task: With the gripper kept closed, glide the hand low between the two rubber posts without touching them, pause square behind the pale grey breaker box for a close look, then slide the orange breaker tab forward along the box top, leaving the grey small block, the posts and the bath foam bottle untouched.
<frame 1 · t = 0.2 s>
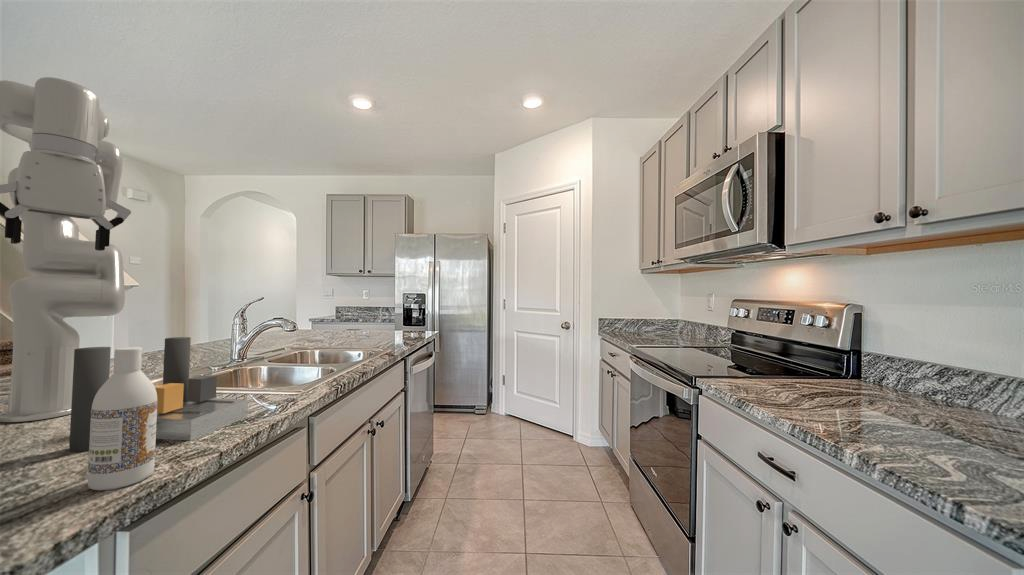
hand: (60, 246, 66), 36 cm above the countertop, tool pointing down, fingers open, 9 cm apart
grey small block: (202, 388, 83), point 7 cm above the countertop, slide at 0.0 cm
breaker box: (195, 426, 78), on the countertop
bath foam: (122, 481, 56), on the countertop
tab orange: (167, 397, 75), point 7 cm above the countertop, slide at 0.0 cm
post 2: (174, 416, 84), on the countertop
post 1: (87, 447, 67), on the countertop
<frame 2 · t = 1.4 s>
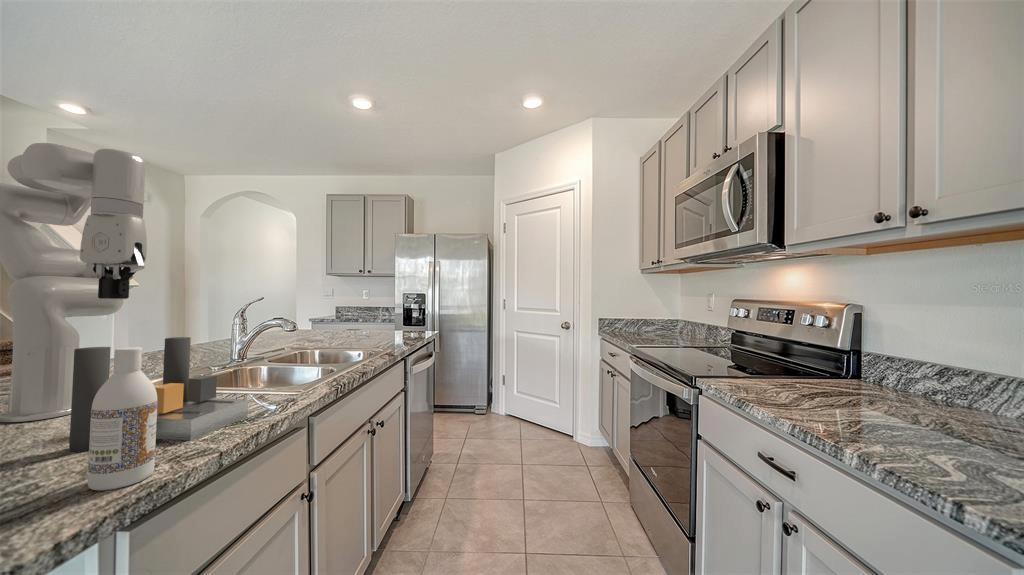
hand: (113, 297, 77), 27 cm above the countertop, tool pointing down, fingers closed
nothing on the countertop moved.
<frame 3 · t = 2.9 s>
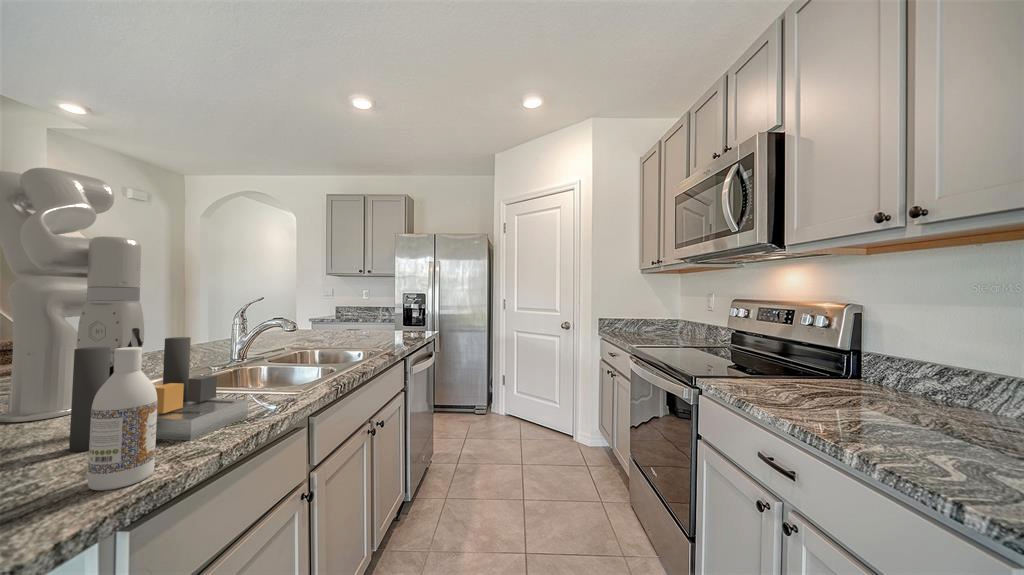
hand: (111, 385, 76), 9 cm above the countertop, tool pointing down, fingers closed
nothing on the countertop moved.
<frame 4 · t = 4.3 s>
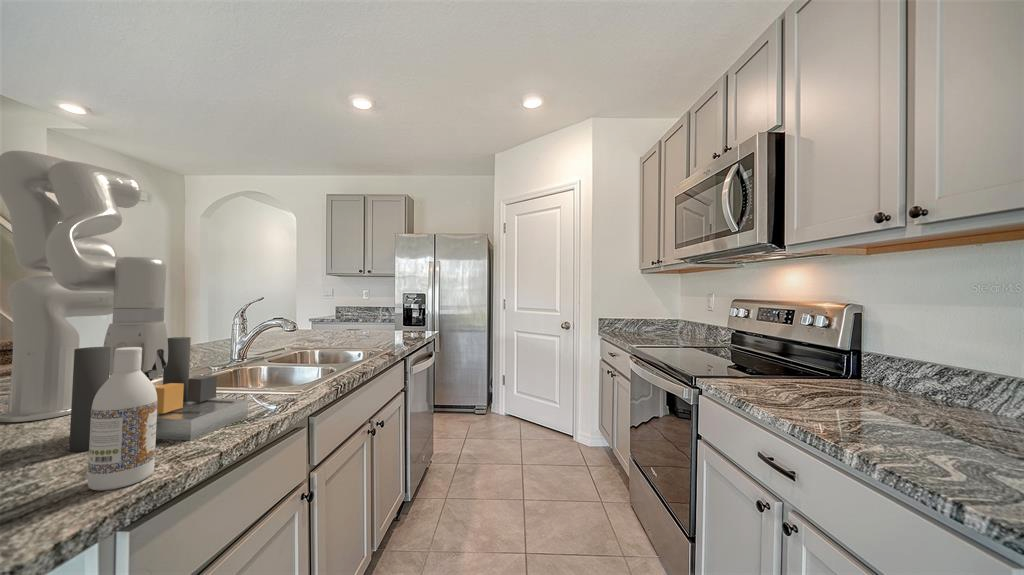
hand: (135, 405, 76), 5 cm above the countertop, tool pointing down, fingers closed
nothing on the countertop moved.
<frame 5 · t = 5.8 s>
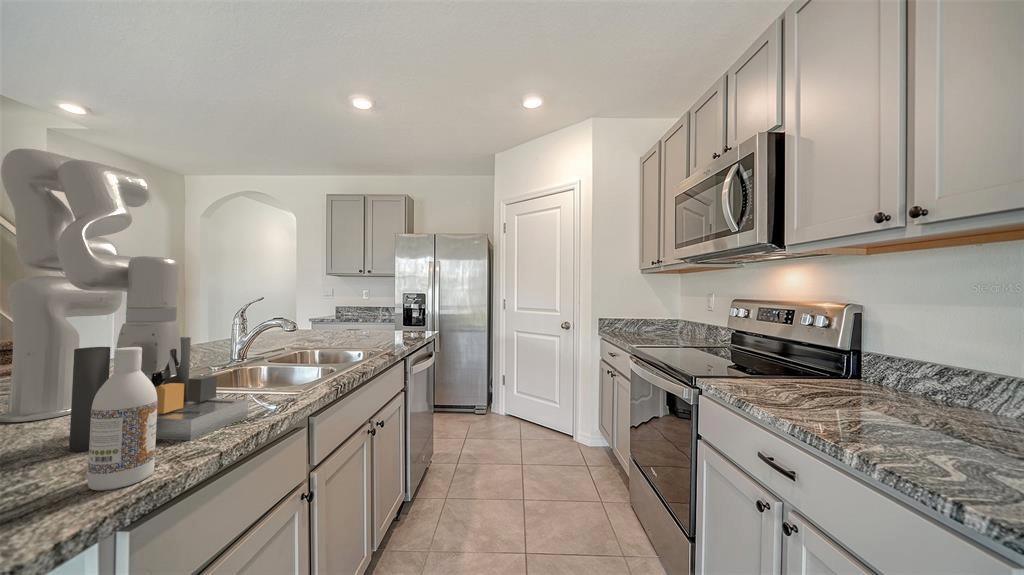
hand: (148, 405, 76), 5 cm above the countertop, tool pointing down, fingers closed
tab orange: (167, 397, 75), point 7 cm above the countertop, slide at 0.1 cm, touching gripper
everything else where it was.
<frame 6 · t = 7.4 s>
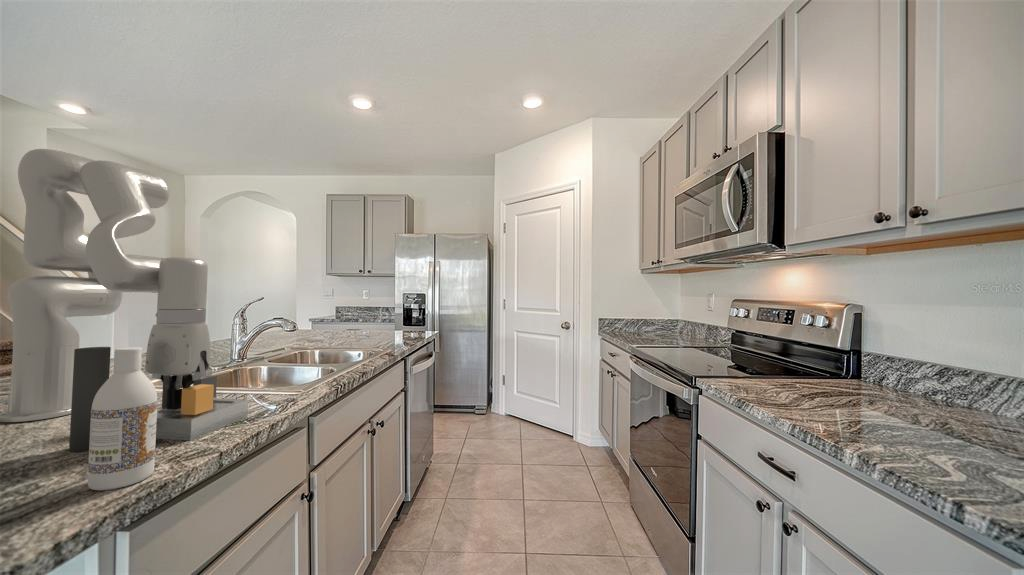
hand: (178, 407, 75), 5 cm above the countertop, tool pointing down, fingers closed
tab orange: (197, 399, 75), point 7 cm above the countertop, slide at 6.7 cm
everything else where it was.
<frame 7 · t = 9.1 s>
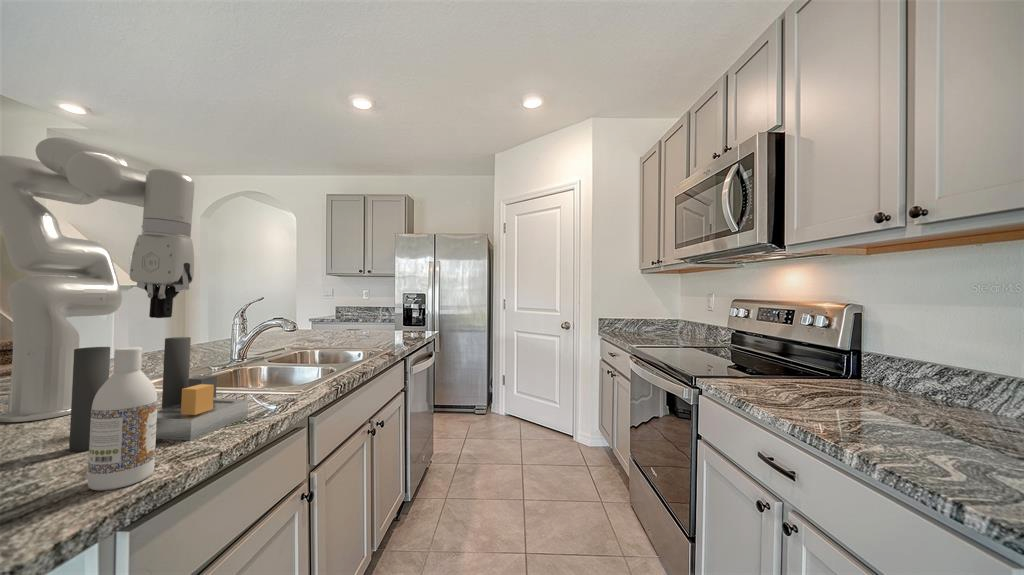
hand: (160, 317, 77), 23 cm above the countertop, tool pointing down, fingers closed
nothing on the countertop moved.
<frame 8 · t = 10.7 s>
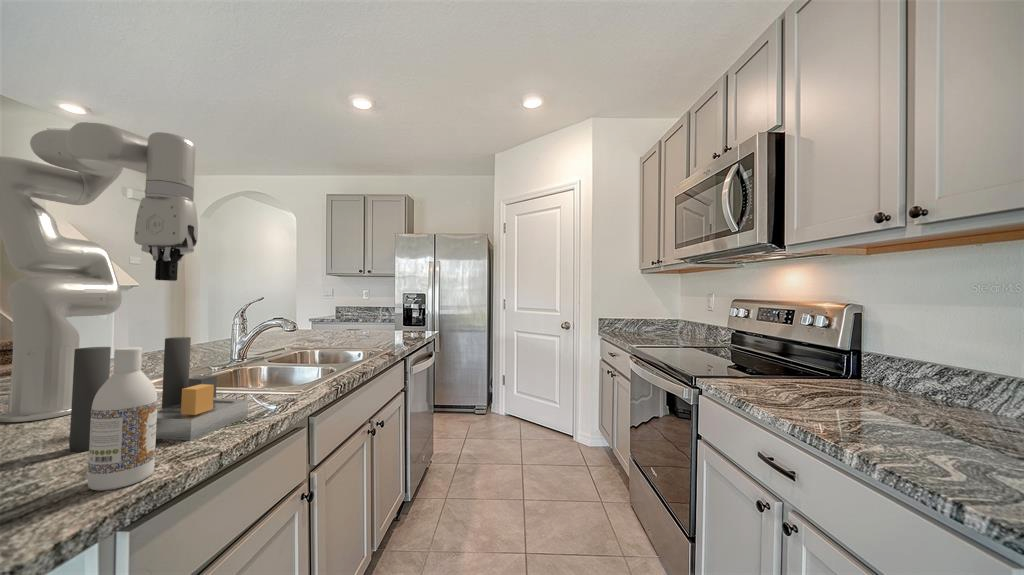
hand: (166, 280, 78), 31 cm above the countertop, tool pointing down, fingers closed
nothing on the countertop moved.
at the end: tab orange slide at 6.7 cm; post 2 moved 0.0 cm from its start; post 1 moved 0.0 cm from its start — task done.
